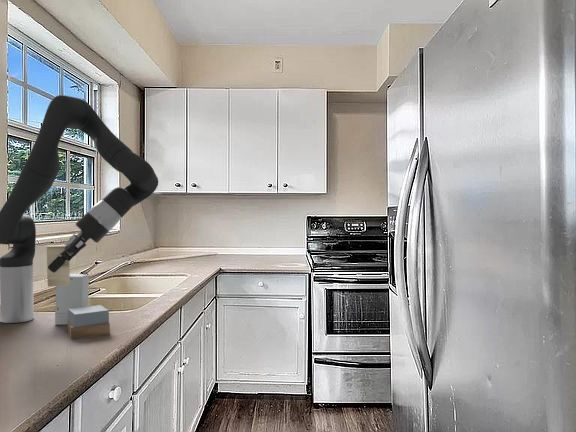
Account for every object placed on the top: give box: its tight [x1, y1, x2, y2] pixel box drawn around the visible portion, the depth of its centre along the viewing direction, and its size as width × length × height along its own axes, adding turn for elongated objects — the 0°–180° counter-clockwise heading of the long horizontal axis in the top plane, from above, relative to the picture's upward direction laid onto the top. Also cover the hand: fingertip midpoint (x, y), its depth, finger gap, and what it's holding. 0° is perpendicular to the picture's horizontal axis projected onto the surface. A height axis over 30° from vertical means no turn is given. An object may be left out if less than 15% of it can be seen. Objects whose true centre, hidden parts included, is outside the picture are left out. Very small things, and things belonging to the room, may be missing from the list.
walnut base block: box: [67, 321, 111, 340], centre depth 144 cm, size 10×10×4 cm
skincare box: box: [54, 273, 90, 326], centre depth 156 cm, size 8×6×15 cm
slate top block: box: [68, 304, 110, 327], centre depth 144 cm, size 9×9×4 cm
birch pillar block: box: [46, 244, 71, 288], centre depth 131 cm, size 5×5×10 cm
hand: (50, 268), depth 131 cm, fingers closed on birch pillar block, 5 cm apart
